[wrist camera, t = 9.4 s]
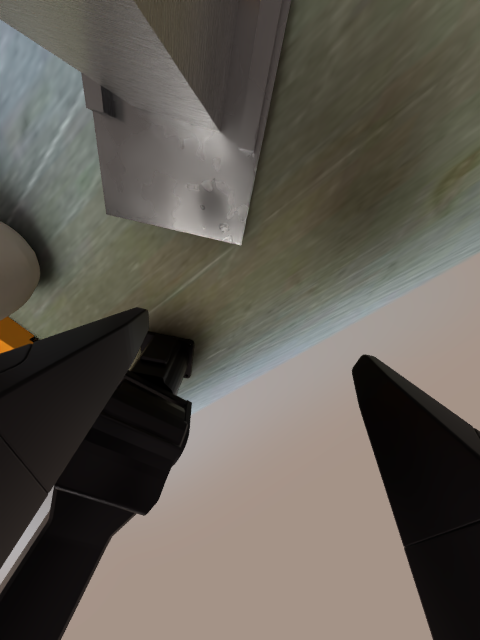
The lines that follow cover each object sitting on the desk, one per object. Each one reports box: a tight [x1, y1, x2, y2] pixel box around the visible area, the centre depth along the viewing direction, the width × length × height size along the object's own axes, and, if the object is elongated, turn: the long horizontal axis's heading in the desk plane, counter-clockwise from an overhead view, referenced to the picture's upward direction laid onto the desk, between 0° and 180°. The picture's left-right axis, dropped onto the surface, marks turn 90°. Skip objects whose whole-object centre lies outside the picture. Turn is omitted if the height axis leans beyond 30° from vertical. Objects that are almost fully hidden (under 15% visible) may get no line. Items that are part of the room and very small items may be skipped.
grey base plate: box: [81, 0, 291, 245], centre depth 12 cm, size 16×11×4 cm
